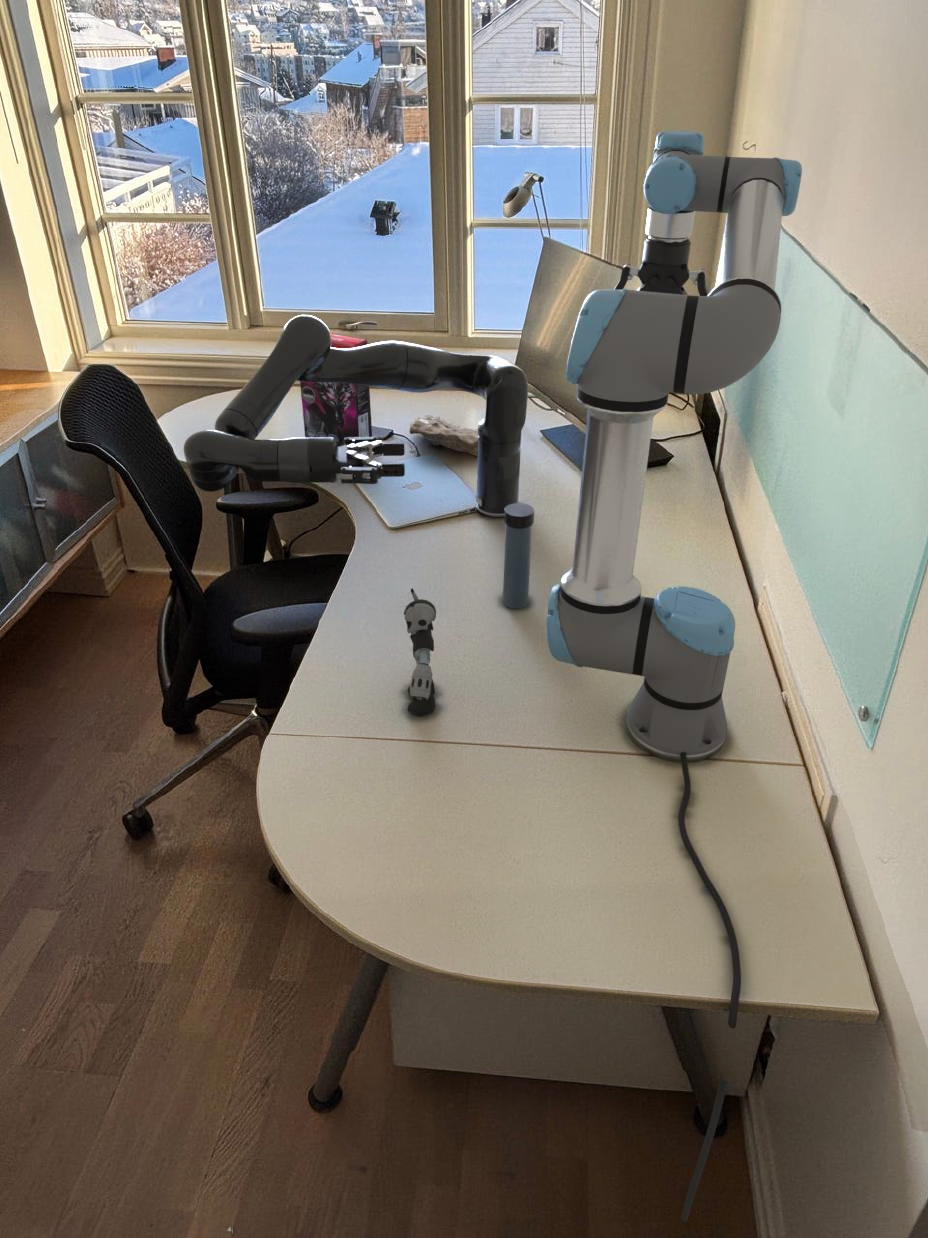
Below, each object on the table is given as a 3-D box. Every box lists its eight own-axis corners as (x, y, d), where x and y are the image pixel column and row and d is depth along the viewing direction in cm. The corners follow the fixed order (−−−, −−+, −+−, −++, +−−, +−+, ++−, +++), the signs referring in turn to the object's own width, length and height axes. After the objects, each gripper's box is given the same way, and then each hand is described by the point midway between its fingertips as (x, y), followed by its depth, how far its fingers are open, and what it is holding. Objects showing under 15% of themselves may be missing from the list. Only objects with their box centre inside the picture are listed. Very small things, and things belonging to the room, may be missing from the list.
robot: (438, 740, 141) (437, 632, 129) (406, 740, 140) (402, 633, 129) (435, 663, 157) (434, 561, 146) (406, 664, 157) (403, 562, 145)
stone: (393, 439, 229) (398, 415, 226) (412, 430, 242) (417, 408, 240) (473, 463, 225) (479, 439, 223) (488, 453, 238) (493, 431, 236)
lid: (538, 518, 165) (538, 506, 164) (526, 530, 161) (527, 519, 160) (511, 512, 167) (512, 500, 166) (499, 524, 163) (499, 512, 162)
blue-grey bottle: (531, 598, 174) (537, 509, 164) (521, 611, 171) (526, 520, 160) (508, 592, 176) (512, 503, 166) (498, 604, 173) (501, 514, 162)
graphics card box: (303, 443, 234) (292, 335, 219) (319, 434, 239) (310, 328, 224) (359, 456, 228) (353, 346, 212) (374, 446, 233) (369, 338, 217)
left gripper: (313, 463, 163) (405, 462, 164) (306, 499, 151) (405, 497, 152) (309, 422, 159) (404, 422, 160) (302, 456, 147) (404, 455, 148)
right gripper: (746, 237, 151) (725, 364, 163) (595, 227, 157) (585, 351, 169) (746, 247, 145) (723, 378, 157) (589, 236, 151) (579, 364, 163)
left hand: (404, 458), depth 156 cm, fingers open, 8 cm apart
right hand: (652, 364), depth 163 cm, fingers open, 13 cm apart
